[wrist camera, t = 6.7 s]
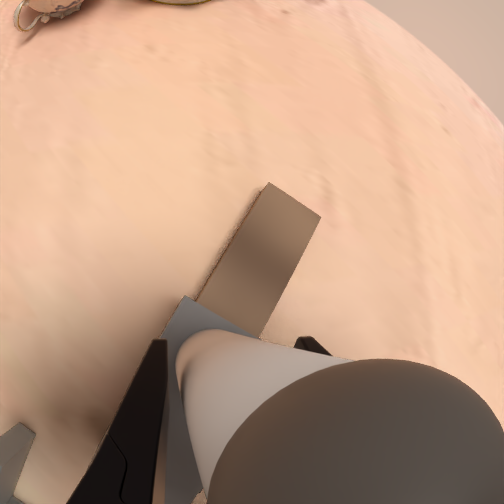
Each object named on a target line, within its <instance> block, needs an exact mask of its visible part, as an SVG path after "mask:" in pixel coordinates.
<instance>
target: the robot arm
mask: <svg viewBox="0 0 504 504" xmlns="http://www.w3.org/2000/svg"><path fill="white" fill-rule="evenodd" d="M294 348H296V349H300V350H305V351H309V352H314V353H318V354H323V355H328V356H332V355H331V354H330V353H329V352H328V351H327V350H326V349H325V348H324V347H322V346H321V345H320V344H319V343H318V342H317V341H316V340H315V339H314V338H313V337H311V336H304V337H299V338H298V339H297V341H296V343H295V346H294ZM169 411H170V403H169V370H168V340H167V339H165V338H154V339H153V340H152V342H151V344H150V345H149V347H148V349H147V351H146V353H145V355H144V357H143V359H142V361H141V363H140V365H139V367H138V369H137V371H136V373H135V375H134V377H133V379H132V381H131V383H130V385H129V387H128V389H127V391H126V393H125V395H124V397H123V400H122V402H121V404H120V406H119V408H118V410H117V412H116V414H115V416H114V418H113V420H112V422H111V425H110V427H109V429H108V431H107V433H108V434H106V435H105V437H104V439H103V441H102V444H101V446H100V448H99V450H98V452H97V454H96V456H95V458H94V460H93V461H92V463H91V465H90V466H89V468H88V470H87V471H86V473H85V475H84V476H83V478H82V479H81V481H80V483H79V484H78V486H77V487H76V489H75V490H74V492H73V494H72V495H71V497H70V498H69V500H68V501H67V503H66V504H165V478H166V458H167V441H168V427H169Z"/></svg>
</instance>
